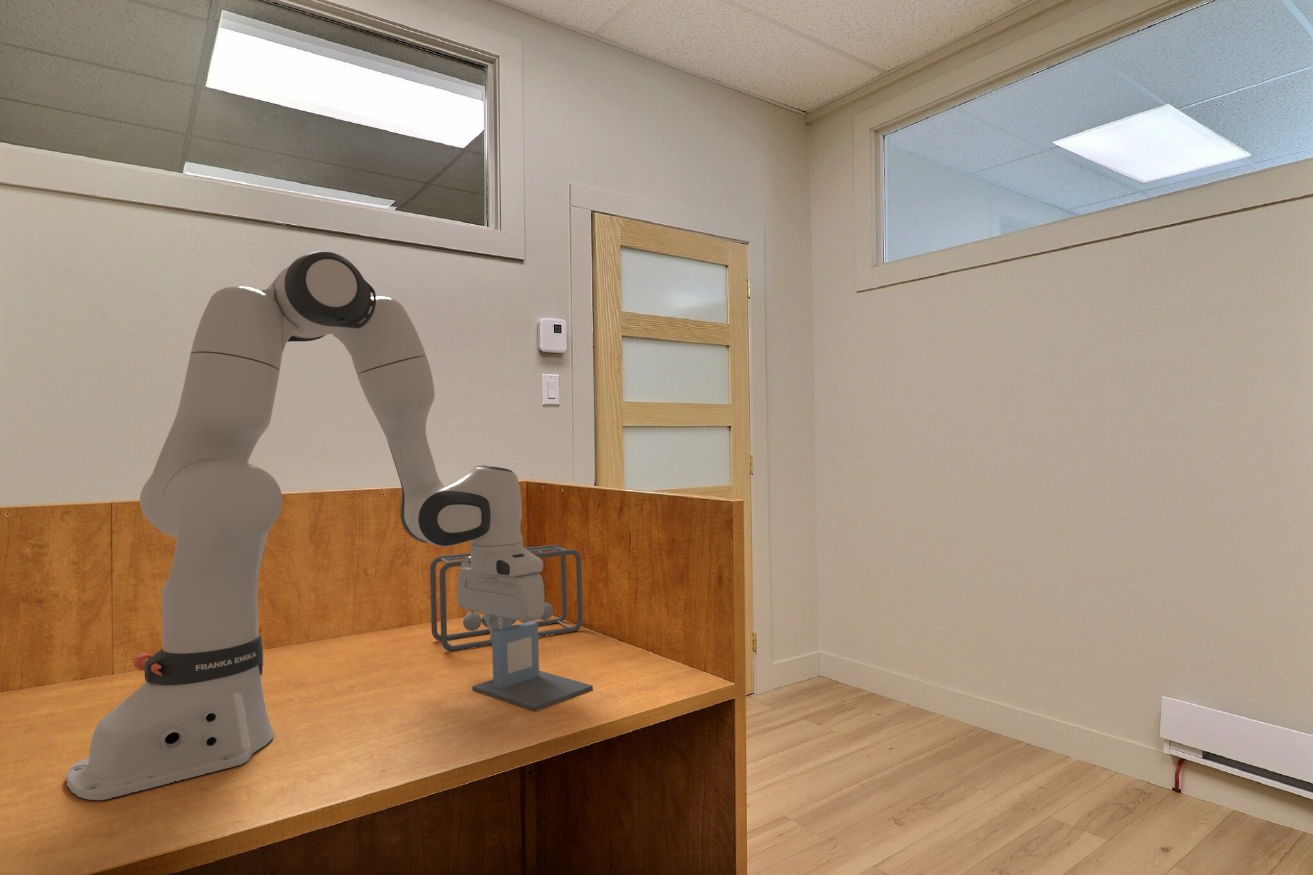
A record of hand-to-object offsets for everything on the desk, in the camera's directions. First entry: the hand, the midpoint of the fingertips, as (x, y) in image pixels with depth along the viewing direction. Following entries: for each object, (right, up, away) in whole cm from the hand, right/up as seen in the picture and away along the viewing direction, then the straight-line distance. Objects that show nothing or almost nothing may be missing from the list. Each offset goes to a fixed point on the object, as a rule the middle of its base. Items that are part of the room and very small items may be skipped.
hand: (499, 640), depth 122 cm
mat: (+7, -6, -6) cm, 11 cm away
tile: (+4, -6, -3) cm, 8 cm away
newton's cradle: (-4, -8, +29) cm, 30 cm away
